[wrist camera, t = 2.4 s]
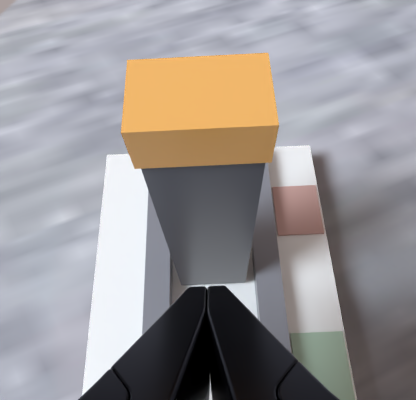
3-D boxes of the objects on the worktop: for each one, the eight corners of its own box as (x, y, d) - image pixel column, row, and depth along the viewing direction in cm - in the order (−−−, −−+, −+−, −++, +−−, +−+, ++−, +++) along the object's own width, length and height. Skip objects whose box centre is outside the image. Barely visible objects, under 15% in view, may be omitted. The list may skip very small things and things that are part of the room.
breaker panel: (349, 425, 15) (370, 427, 13) (90, 434, 15) (69, 438, 13) (304, 162, 21) (313, 133, 19) (114, 171, 21) (102, 144, 19)
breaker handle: (247, 285, 16) (278, 125, 7) (178, 287, 16) (121, 132, 7) (244, 243, 17) (268, 52, 8) (178, 246, 17) (127, 60, 8)
